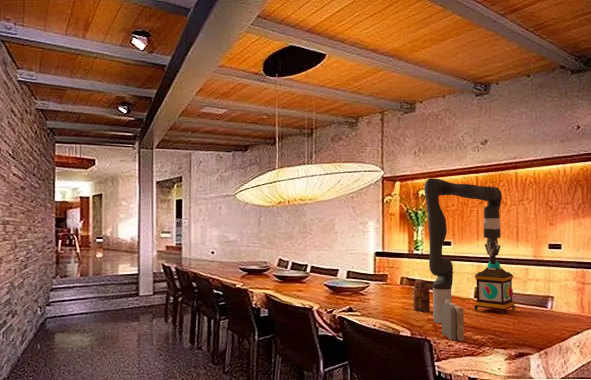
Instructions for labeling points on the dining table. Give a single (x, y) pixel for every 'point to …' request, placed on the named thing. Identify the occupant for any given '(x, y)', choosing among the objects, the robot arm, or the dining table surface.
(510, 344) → the dining table surface
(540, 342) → the dining table surface
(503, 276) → the decorative lantern
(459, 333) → the ash plank
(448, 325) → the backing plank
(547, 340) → the dining table surface
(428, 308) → the wooden figurine
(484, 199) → the robot arm
